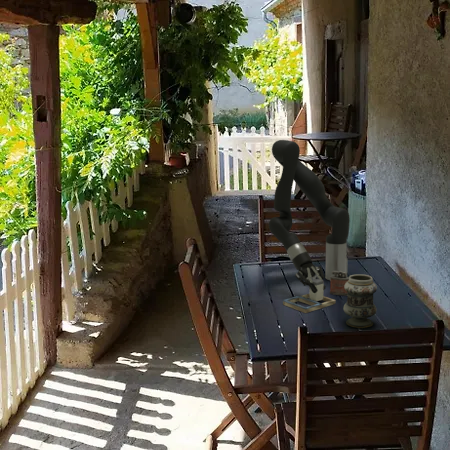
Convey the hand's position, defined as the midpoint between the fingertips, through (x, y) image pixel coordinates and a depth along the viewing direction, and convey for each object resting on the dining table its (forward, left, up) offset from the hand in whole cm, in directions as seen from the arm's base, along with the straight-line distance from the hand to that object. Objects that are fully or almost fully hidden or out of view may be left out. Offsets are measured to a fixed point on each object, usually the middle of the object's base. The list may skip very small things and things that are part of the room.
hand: (320, 290), depth 257 cm
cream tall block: (0, -2, -4) cm, 5 cm away
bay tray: (+4, -2, -5) cm, 7 cm away
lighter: (-15, -3, -6) cm, 16 cm away
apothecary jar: (+5, +25, -6) cm, 26 cm away
